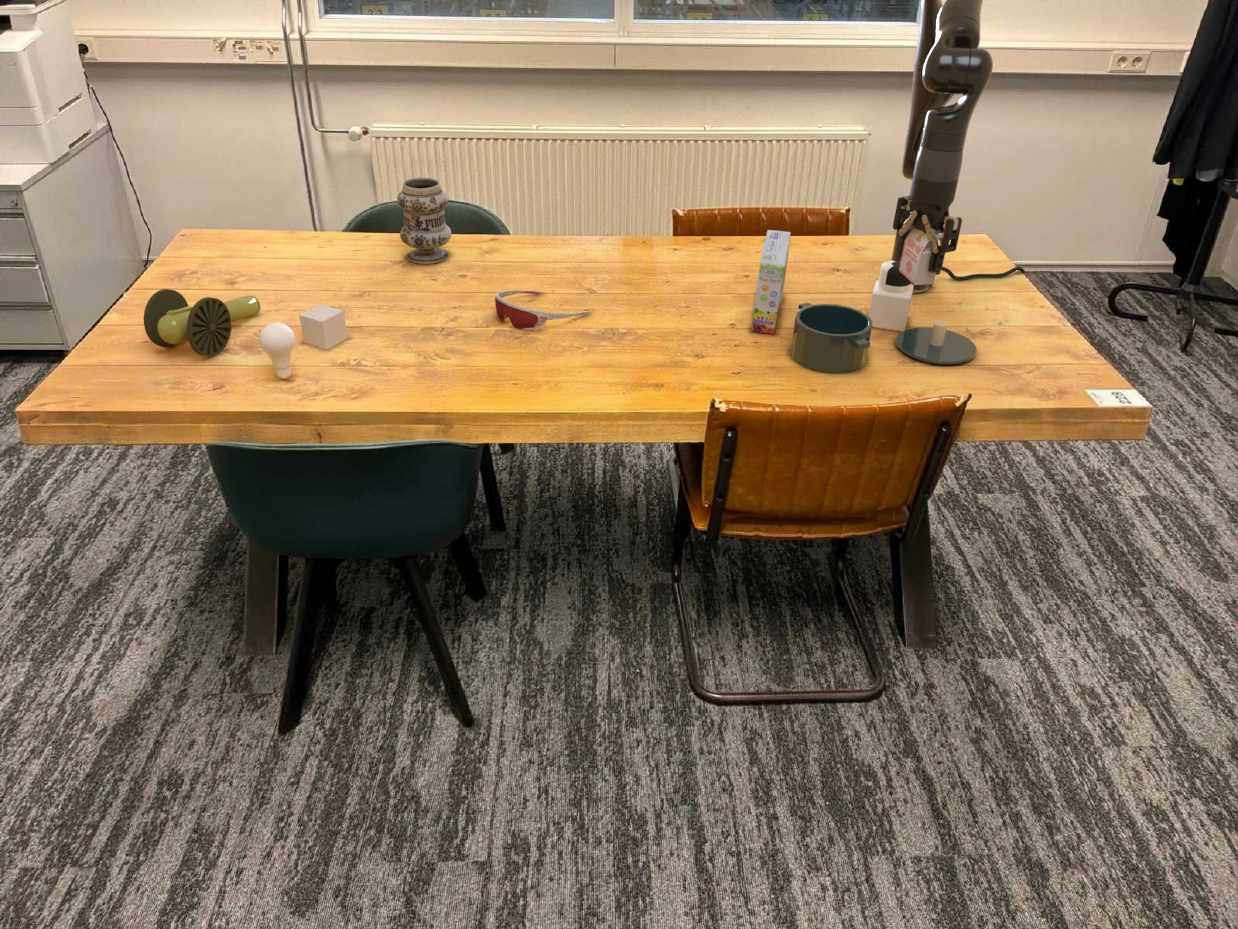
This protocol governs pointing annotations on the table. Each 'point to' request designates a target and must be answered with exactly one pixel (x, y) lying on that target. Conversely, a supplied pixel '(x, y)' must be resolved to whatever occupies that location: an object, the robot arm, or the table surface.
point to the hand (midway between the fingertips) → (918, 263)
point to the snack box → (771, 281)
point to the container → (891, 298)
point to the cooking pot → (830, 338)
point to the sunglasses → (525, 312)
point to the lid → (936, 344)
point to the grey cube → (323, 326)
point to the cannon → (195, 320)
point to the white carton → (917, 258)
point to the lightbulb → (278, 347)
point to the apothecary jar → (424, 220)
